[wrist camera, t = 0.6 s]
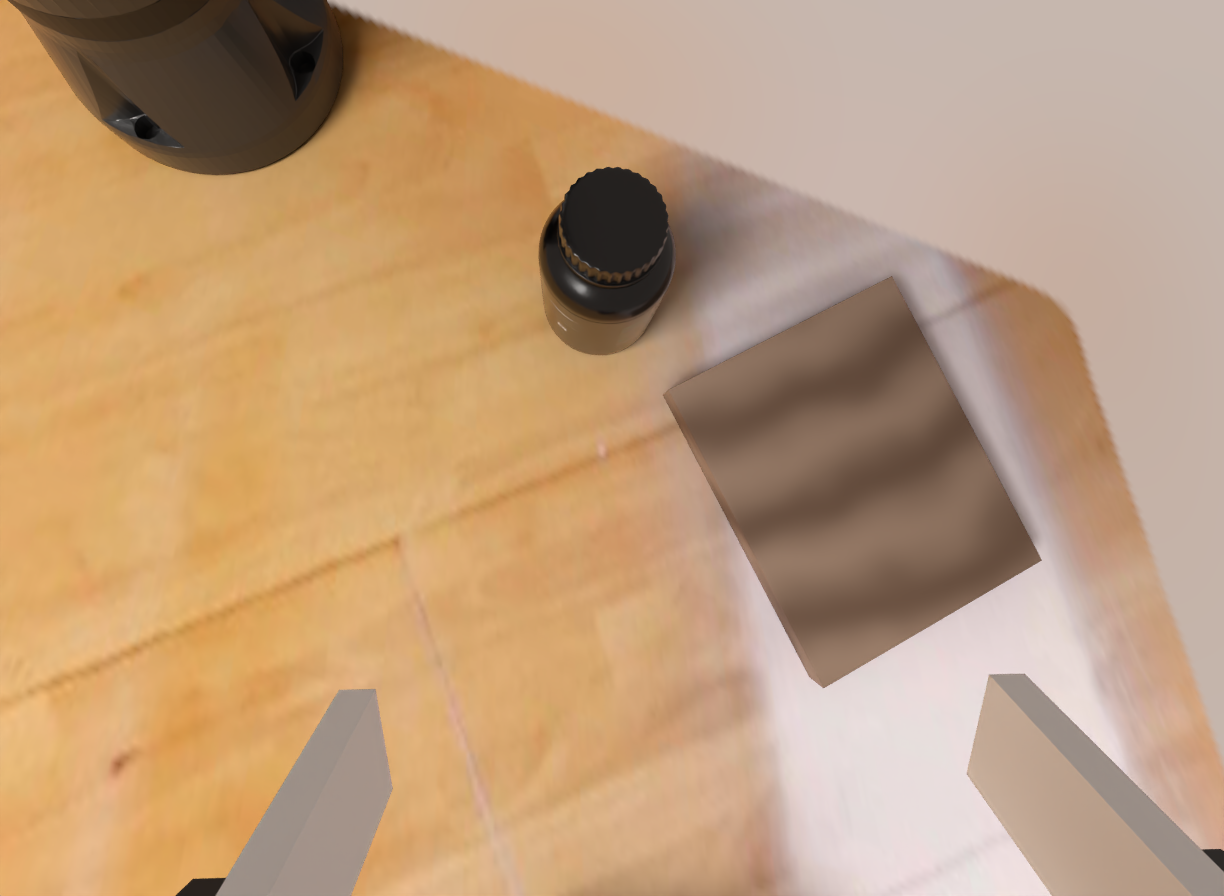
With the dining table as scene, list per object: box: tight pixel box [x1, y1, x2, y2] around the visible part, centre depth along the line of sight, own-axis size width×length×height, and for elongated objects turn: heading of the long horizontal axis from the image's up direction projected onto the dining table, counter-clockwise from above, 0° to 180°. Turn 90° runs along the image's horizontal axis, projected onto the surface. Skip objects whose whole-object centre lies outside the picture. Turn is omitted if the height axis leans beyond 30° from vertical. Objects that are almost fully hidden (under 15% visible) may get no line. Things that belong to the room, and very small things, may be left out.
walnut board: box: [663, 276, 1042, 688], centre depth 37 cm, size 20×16×2 cm
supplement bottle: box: [539, 167, 676, 355], centre depth 31 cm, size 7×7×12 cm
